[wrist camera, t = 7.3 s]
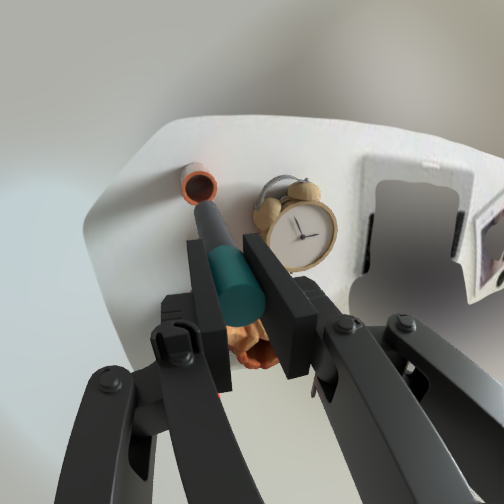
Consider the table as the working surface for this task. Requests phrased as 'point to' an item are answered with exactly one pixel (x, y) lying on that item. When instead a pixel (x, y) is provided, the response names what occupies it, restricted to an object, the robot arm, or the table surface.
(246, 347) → the mug
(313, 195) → the alarm clock
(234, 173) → the table surface
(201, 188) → the pen pot
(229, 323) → the marker
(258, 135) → the table surface
